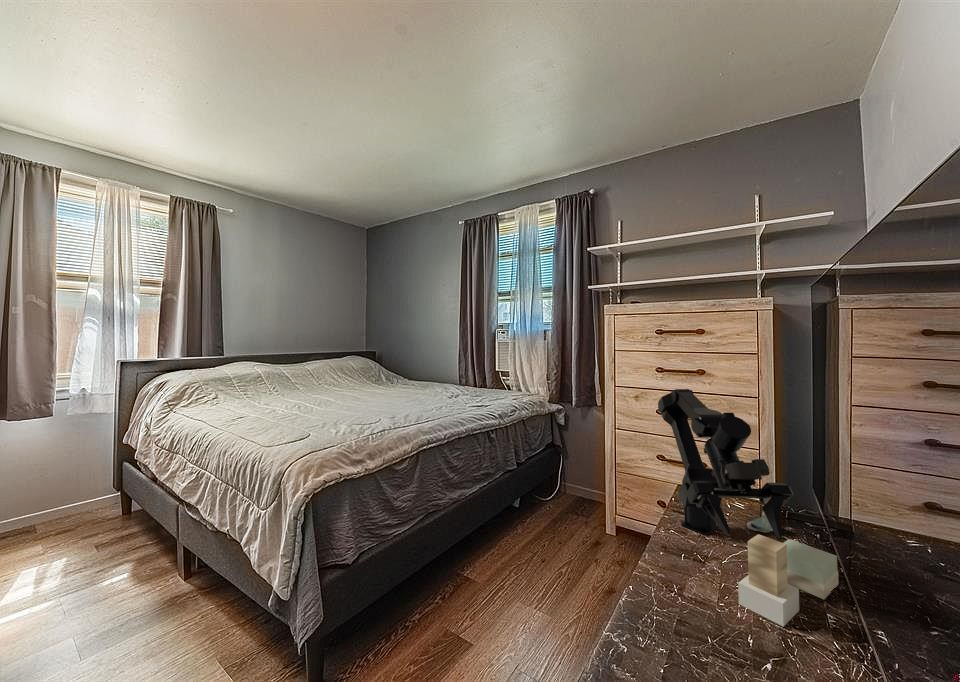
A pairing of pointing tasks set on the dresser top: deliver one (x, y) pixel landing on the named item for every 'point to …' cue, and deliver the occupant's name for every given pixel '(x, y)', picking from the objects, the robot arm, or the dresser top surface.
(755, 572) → the maple block
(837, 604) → the dresser top surface
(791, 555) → the sage slab upper
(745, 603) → the grey stand
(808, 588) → the birch slab lower
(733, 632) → the dresser top surface
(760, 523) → the pacifier
